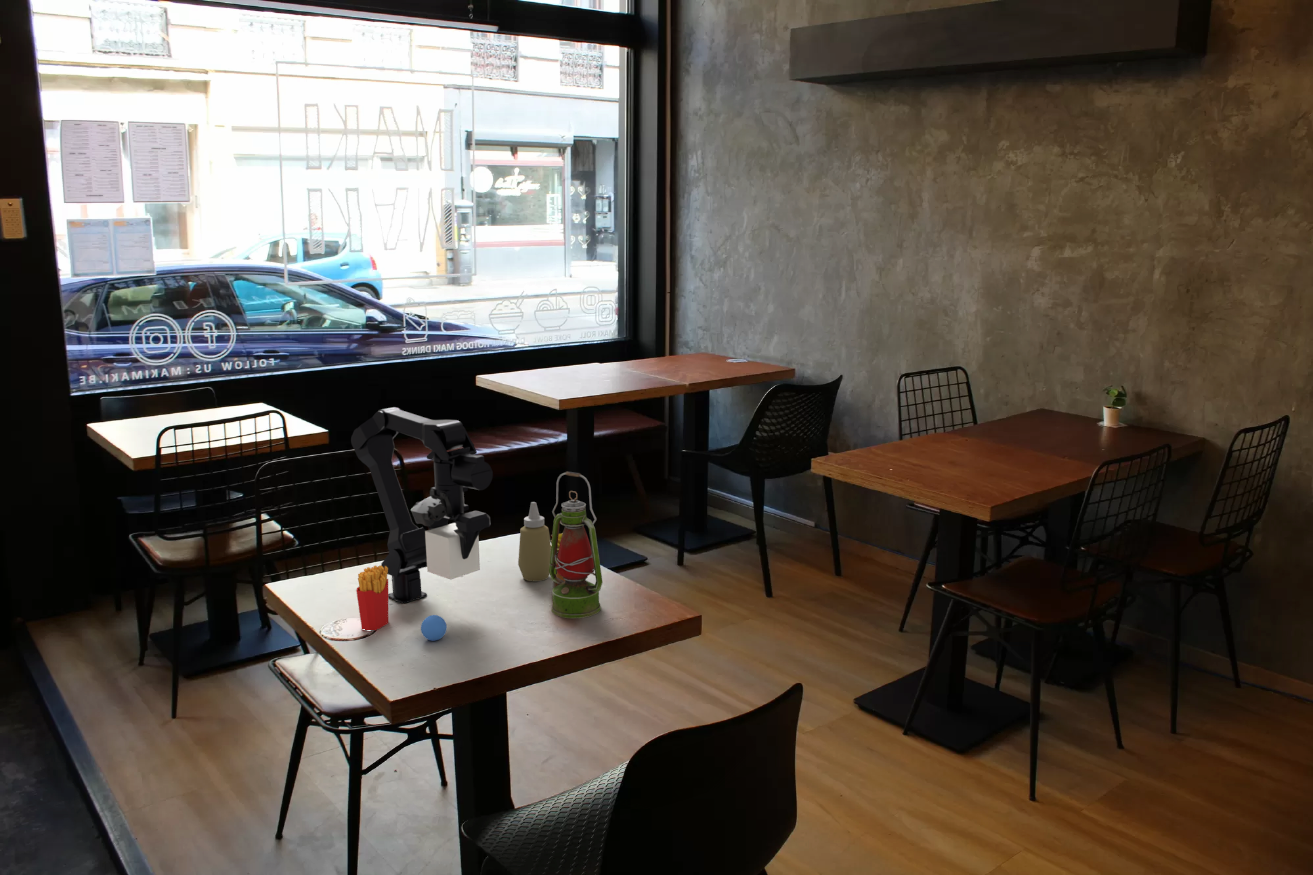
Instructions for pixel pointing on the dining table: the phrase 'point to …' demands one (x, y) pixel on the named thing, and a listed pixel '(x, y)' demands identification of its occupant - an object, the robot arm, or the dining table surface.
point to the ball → (433, 627)
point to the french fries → (373, 597)
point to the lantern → (574, 560)
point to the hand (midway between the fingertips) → (452, 554)
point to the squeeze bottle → (534, 547)
